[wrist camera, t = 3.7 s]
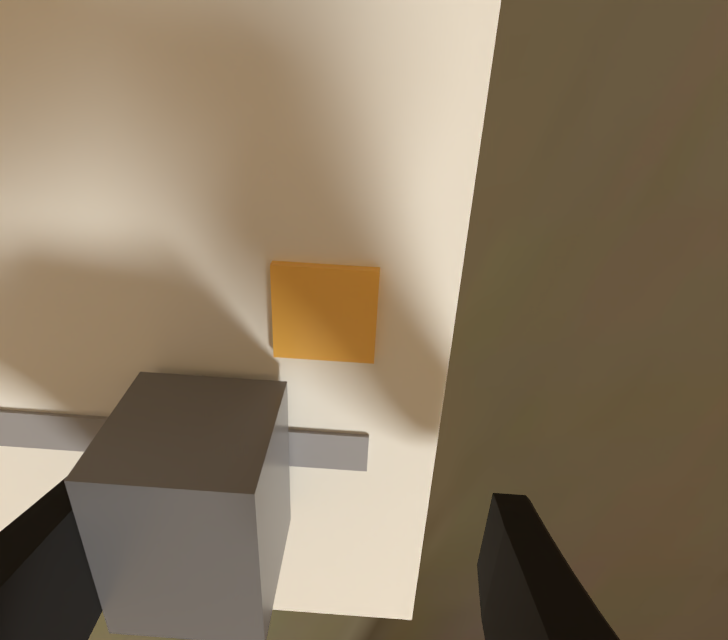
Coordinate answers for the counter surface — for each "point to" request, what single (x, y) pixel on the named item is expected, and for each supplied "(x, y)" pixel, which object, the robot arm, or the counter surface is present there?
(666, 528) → the counter surface
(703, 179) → the counter surface
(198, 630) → the switch
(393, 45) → the switch console
